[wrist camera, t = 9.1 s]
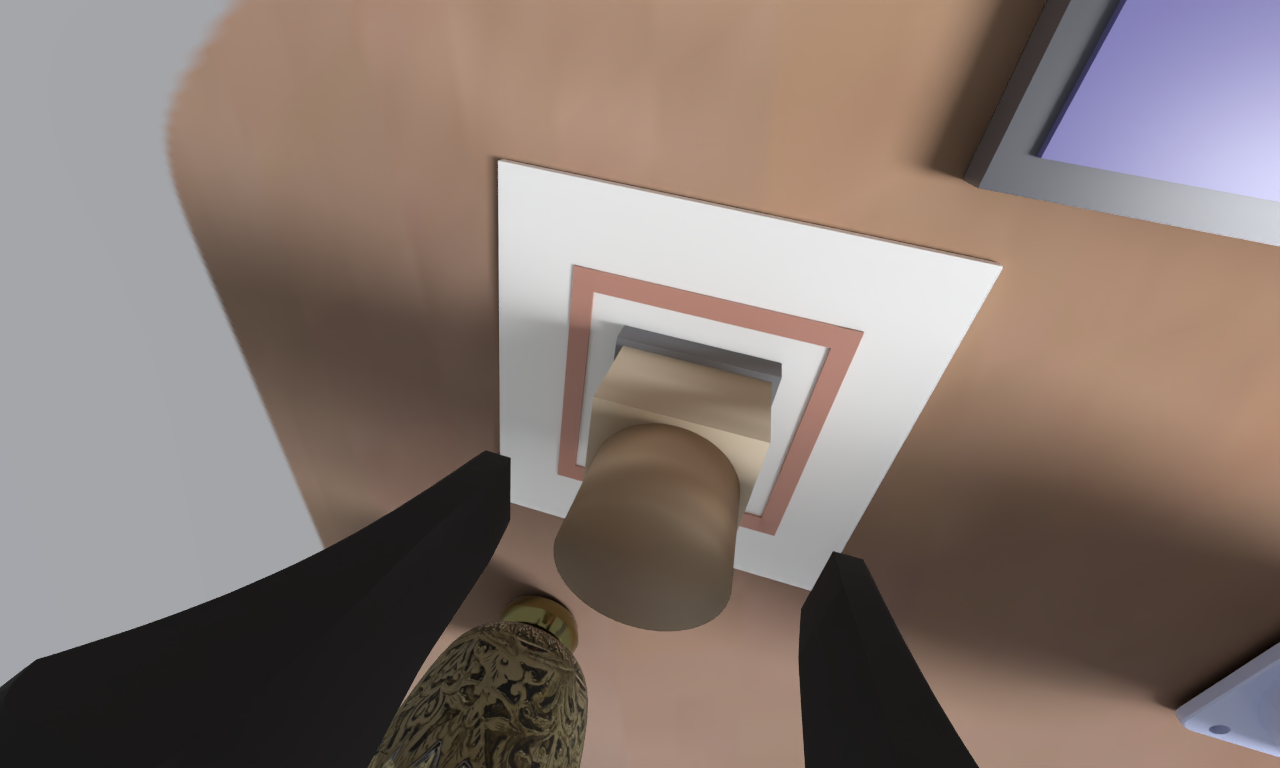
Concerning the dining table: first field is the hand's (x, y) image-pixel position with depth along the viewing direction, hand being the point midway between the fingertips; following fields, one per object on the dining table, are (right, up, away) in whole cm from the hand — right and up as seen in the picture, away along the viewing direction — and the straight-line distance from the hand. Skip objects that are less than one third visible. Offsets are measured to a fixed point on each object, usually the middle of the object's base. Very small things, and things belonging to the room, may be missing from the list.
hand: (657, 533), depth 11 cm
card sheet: (+1, +3, +4) cm, 5 cm away
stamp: (+1, +3, +4) cm, 5 cm away
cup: (-5, -7, +12) cm, 15 cm away
